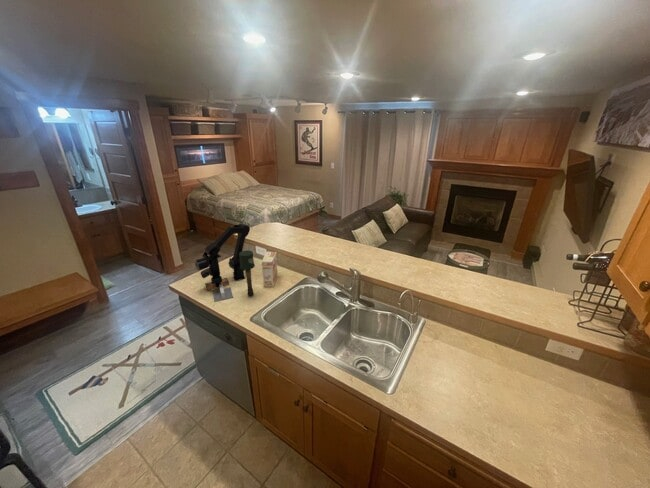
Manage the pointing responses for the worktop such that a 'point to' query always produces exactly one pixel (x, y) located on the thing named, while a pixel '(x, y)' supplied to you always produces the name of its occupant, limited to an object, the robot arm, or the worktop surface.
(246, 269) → the potato masher grenade
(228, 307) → the worktop surface
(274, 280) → the coffeecake box
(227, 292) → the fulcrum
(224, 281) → the plank
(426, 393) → the worktop surface
